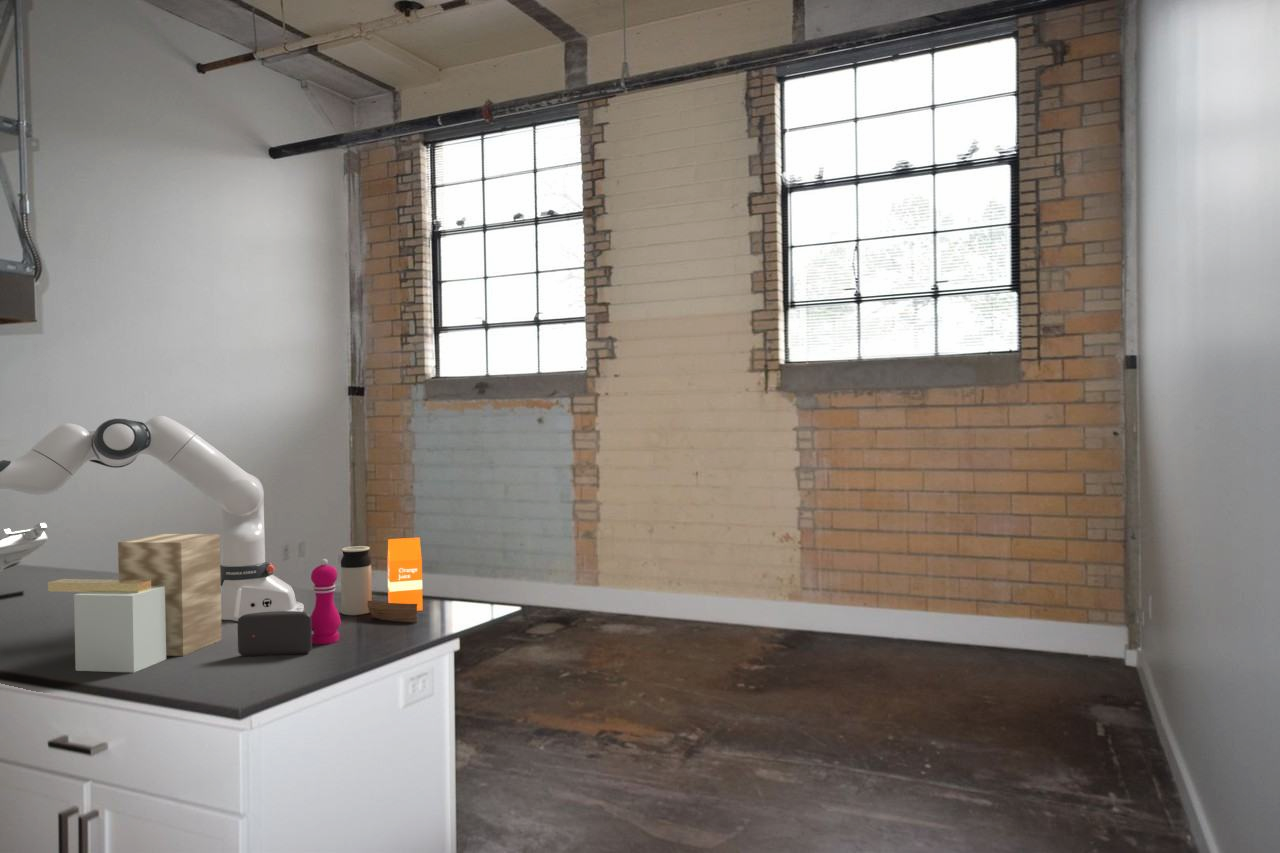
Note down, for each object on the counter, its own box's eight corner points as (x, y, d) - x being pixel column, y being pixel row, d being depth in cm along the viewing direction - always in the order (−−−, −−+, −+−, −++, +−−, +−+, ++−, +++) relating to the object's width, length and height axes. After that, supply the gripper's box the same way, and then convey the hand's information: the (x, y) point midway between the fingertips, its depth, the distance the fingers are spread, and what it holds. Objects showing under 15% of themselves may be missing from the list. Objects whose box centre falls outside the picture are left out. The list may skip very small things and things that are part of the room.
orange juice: (388, 607, 243) (386, 537, 243) (419, 604, 246) (418, 535, 246) (390, 613, 236) (389, 541, 236) (423, 610, 239) (421, 539, 239)
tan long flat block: (48, 591, 189) (47, 582, 189) (62, 587, 193) (62, 578, 193) (138, 592, 186) (138, 583, 186) (151, 589, 190) (151, 580, 190)
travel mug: (372, 614, 235) (371, 549, 235) (342, 617, 232) (341, 551, 232) (370, 608, 242) (369, 545, 242) (341, 611, 239) (339, 547, 239)
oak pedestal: (120, 654, 198) (118, 542, 197) (162, 638, 212) (160, 533, 211) (183, 655, 195) (181, 542, 195) (221, 640, 209) (219, 534, 209)
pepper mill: (307, 646, 202) (306, 562, 202) (311, 638, 209) (309, 557, 209) (340, 643, 204) (338, 560, 204) (342, 636, 211) (340, 555, 211)
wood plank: (420, 621, 226) (419, 602, 226) (415, 623, 224) (415, 604, 224) (372, 617, 231) (371, 599, 231) (367, 619, 229) (366, 600, 229)
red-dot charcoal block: (316, 649, 200) (315, 609, 200) (310, 654, 195) (310, 613, 195) (244, 652, 198) (243, 611, 198) (236, 657, 194) (236, 616, 194)
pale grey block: (75, 670, 185) (74, 594, 185) (110, 657, 195) (109, 585, 195) (134, 672, 183) (132, 595, 183) (166, 659, 193) (164, 586, 193)
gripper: (-71, 554, 183) (-23, 522, 182) (12, 540, 204) (56, 510, 202) (-57, 580, 183) (-9, 547, 181) (25, 563, 203) (69, 533, 202)
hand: (26, 528), depth 192 cm, fingers open, 8 cm apart
